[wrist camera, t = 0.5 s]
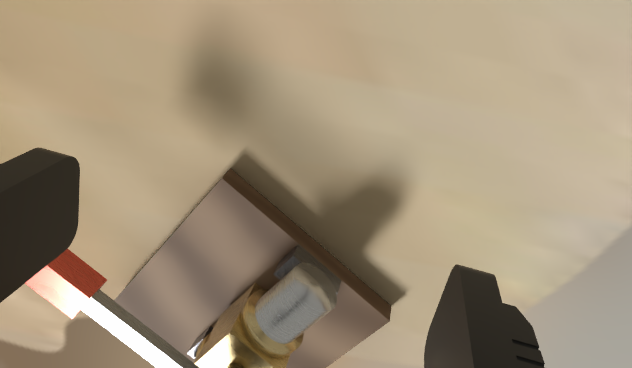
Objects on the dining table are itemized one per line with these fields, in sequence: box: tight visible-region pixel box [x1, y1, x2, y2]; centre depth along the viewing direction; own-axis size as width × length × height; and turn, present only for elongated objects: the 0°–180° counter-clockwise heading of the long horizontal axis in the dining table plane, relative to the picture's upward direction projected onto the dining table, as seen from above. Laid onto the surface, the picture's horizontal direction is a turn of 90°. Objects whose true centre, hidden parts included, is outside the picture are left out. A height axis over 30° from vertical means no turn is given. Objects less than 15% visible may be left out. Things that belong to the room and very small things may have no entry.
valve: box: [187, 244, 341, 368], centre depth 32 cm, size 13×4×7 cm, turn 140°
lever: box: [25, 249, 200, 368], centre depth 28 cm, size 14×3×2 cm, turn 50°
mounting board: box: [114, 168, 391, 368], centre depth 36 cm, size 14×14×2 cm
